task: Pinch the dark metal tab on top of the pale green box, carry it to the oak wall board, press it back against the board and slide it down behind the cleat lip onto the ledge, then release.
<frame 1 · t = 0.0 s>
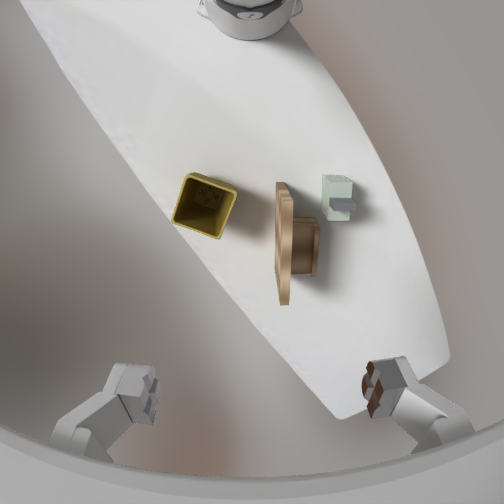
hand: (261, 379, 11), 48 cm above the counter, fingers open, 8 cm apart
wall board: (279, 227, 59), on the counter
flower pot: (210, 193, 57), on the counter
pale green box: (331, 192, 56), on the counter
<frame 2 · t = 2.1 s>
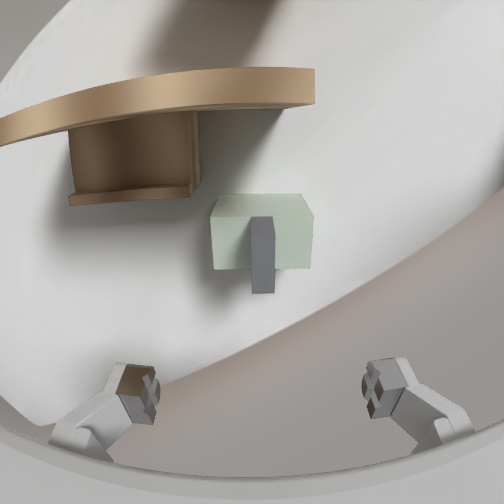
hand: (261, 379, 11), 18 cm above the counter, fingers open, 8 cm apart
wall board: (173, 105, 22), on the counter
pale green box: (260, 215, 27), on the counter
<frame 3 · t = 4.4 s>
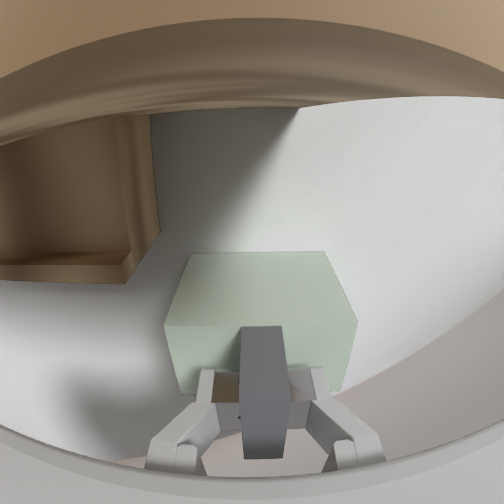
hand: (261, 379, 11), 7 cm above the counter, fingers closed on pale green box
wall board: (111, 106, 12), on the counter
pale green box: (258, 285, 17), on the counter, touching gripper
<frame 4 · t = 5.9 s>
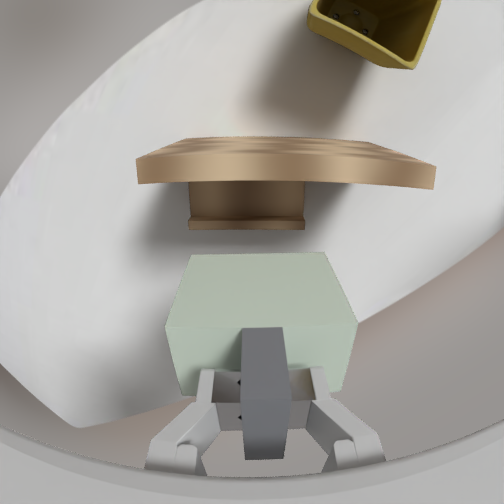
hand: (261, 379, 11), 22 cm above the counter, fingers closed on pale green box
wall board: (278, 144, 28), on the counter
flower pot: (349, 26, 22), on the counter
pale green box: (258, 286, 17), point 15 cm above the counter, touching gripper
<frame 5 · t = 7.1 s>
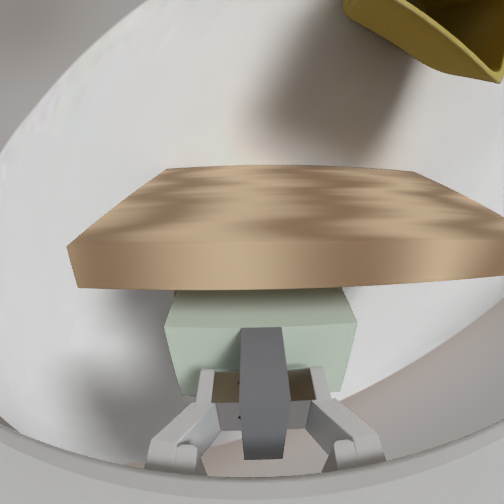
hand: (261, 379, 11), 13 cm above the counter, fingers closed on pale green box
wall board: (298, 176, 20), on the counter
flower pot: (389, 14, 15), on the counter
pale green box: (258, 286, 17), point 6 cm above the counter, touching gripper
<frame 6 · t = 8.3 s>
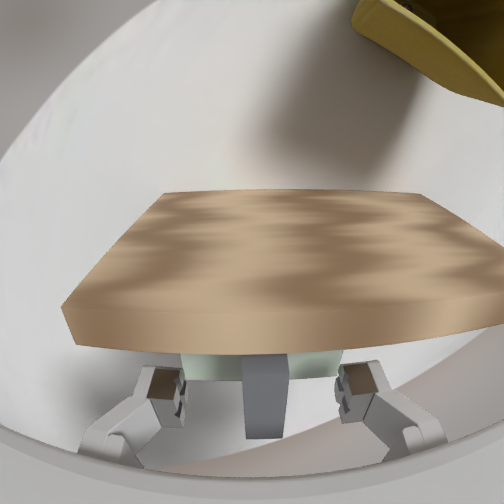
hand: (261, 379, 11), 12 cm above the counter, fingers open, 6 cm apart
wall board: (300, 200, 20), on the counter
flower pot: (398, 26, 15), on the counter
pale green box: (258, 277, 18), point 4 cm above the counter, touching wall board
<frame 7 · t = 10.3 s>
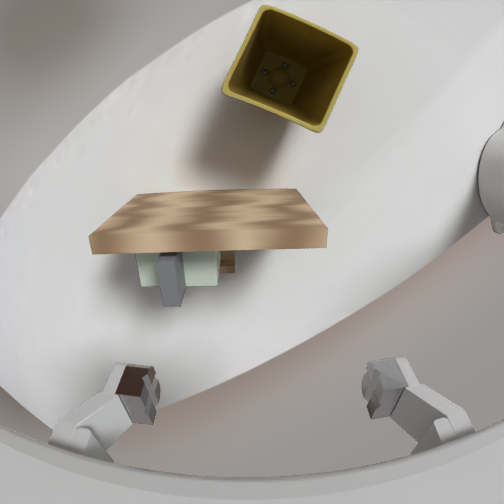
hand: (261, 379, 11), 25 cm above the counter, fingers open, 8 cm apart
wall board: (214, 196, 34), on the counter
flower pot: (278, 79, 29), on the counter
pale green box: (186, 239, 31), point 4 cm above the counter, touching wall board
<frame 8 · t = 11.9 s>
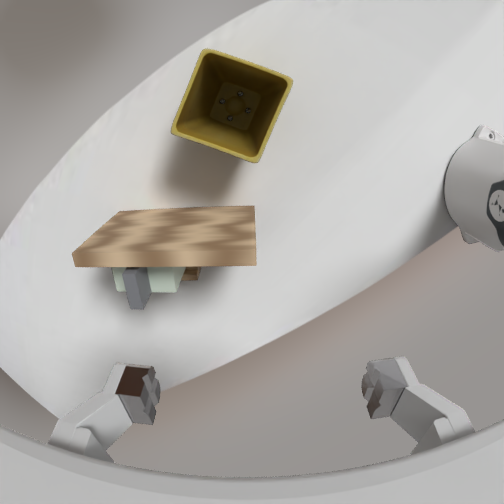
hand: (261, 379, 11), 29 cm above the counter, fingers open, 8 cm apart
wall board: (183, 213, 38), on the counter
flower pot: (235, 107, 33), on the counter
pale green box: (157, 251, 36), point 4 cm above the counter, touching wall board
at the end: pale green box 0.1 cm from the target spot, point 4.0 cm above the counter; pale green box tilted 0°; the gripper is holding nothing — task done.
